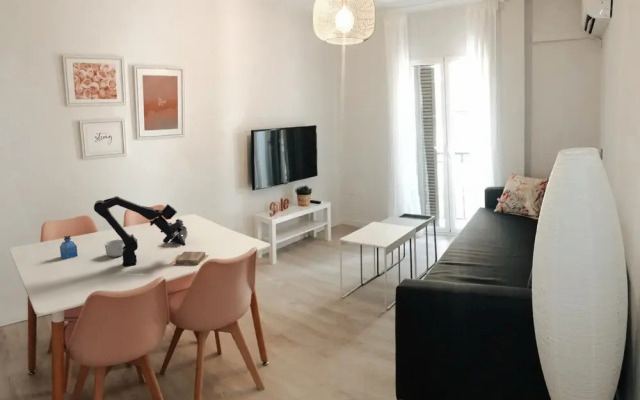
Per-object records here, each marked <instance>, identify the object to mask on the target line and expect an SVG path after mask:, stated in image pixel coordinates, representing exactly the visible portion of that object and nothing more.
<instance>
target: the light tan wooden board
mask: <svg viewBox="0 0 640 400" xmlns="http://www.w3.org/2000/svg"><path fill="white" fill-rule="evenodd" d="M180 255H181V254H177V255H176V256H175V257H174V258H172V260H171V261H170V262H169V263H168V265H176V266H177V265H183V266H186V265H187V266H188V265H189V266H190V265H192V266H200V265H203V263H204V262H205V260H206V259H207V258H208V257H210V255H209V254H205V257H204V258H203V259H202V260H201V262H200V263H199V264H198V265H196V264H176V259H177V258H178V257H179V256H180Z"/></svg>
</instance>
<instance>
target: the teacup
mask: <svg viewBox="0 0 640 400" xmlns="http://www.w3.org/2000/svg"><path fill="white" fill-rule="evenodd" d="M124 246H125V245H124V243H123V241H122V239H119V238H117V239H114V240H110V241H109V240H108V241H106V242H105V243H104V248H105V254H106V255H107V256H109V257H112V258H116V257H121V256H123V255H122V253H123V247H124Z"/></svg>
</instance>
